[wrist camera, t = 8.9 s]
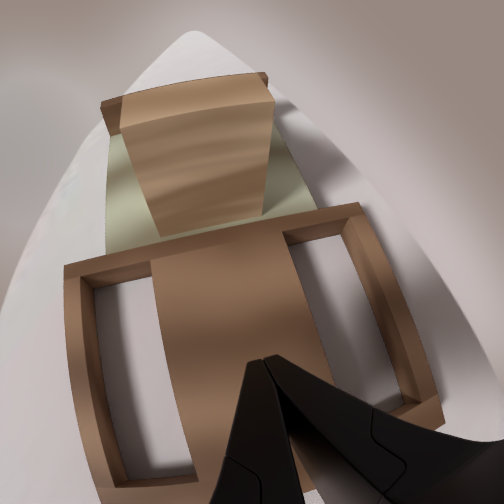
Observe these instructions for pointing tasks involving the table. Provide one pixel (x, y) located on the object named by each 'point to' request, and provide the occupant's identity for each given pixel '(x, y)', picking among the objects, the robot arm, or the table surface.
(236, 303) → the brown wooden flat frame
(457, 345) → the table surface
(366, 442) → the robot arm
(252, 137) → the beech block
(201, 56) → the table surface
